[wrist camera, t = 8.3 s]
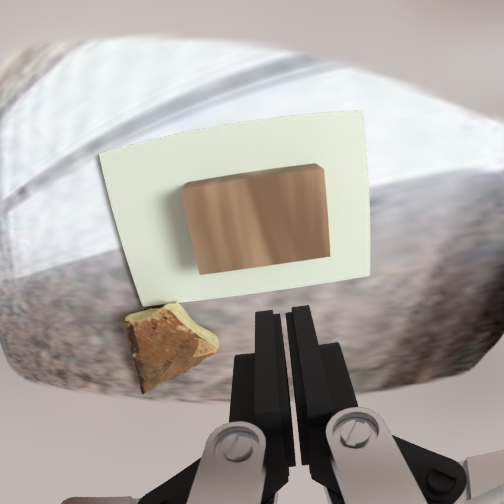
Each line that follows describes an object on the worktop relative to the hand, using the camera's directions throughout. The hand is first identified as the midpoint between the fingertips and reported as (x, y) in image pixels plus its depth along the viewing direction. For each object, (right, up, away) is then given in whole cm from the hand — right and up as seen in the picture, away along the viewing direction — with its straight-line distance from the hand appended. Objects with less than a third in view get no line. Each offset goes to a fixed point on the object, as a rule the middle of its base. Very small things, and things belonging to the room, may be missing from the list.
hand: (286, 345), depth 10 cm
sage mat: (-2, +6, +14) cm, 15 cm away
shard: (-8, -6, +18) cm, 21 cm away
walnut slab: (+4, +6, +12) cm, 14 cm away
